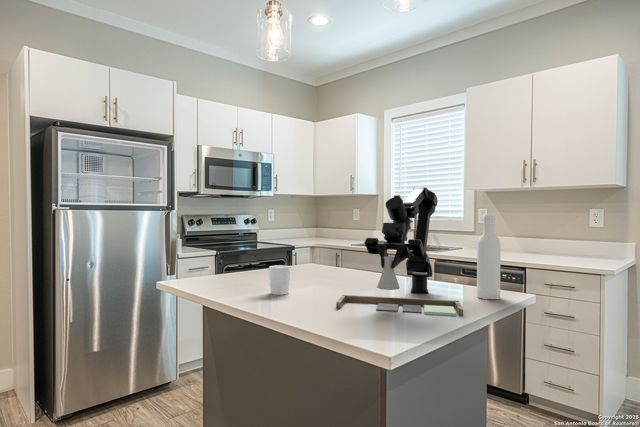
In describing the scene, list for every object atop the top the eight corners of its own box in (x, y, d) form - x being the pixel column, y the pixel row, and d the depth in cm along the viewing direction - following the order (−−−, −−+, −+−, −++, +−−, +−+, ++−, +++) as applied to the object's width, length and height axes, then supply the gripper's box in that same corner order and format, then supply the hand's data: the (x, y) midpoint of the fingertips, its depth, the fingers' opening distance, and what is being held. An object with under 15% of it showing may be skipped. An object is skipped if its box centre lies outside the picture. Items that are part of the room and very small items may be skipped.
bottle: (483, 300, 144) (483, 214, 144) (472, 295, 152) (473, 214, 152) (504, 299, 145) (505, 214, 145) (493, 295, 153) (494, 214, 153)
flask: (402, 290, 127) (402, 258, 126) (378, 290, 126) (379, 258, 126) (397, 286, 134) (397, 255, 134) (374, 286, 134) (375, 255, 133)
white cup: (278, 290, 160) (278, 264, 160) (294, 292, 155) (294, 266, 155) (264, 293, 153) (264, 266, 153) (280, 296, 149) (280, 268, 149)
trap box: (342, 300, 142) (342, 294, 142) (458, 306, 133) (458, 300, 133) (336, 308, 130) (336, 302, 130) (463, 316, 122) (463, 309, 122)
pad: (423, 307, 132) (423, 304, 132) (453, 309, 131) (453, 306, 131) (424, 314, 124) (424, 311, 124) (456, 316, 122) (456, 313, 122)
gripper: (366, 213, 138) (352, 249, 128) (421, 213, 128) (410, 252, 119) (375, 235, 145) (362, 271, 135) (428, 237, 135) (418, 276, 126)
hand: (387, 267), depth 129 cm, fingers closed on flask, 3 cm apart
